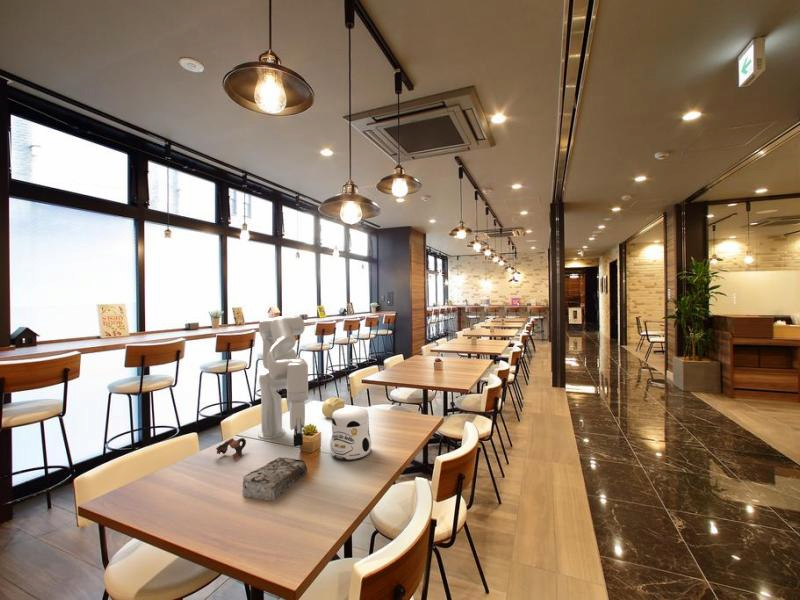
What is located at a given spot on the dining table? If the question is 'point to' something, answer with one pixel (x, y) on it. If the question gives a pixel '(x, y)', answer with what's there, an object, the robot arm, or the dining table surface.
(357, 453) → the milk container
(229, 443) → the brown animal figurine
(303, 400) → the robot arm
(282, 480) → the stone block
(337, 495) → the dining table surface
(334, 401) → the sculpture
